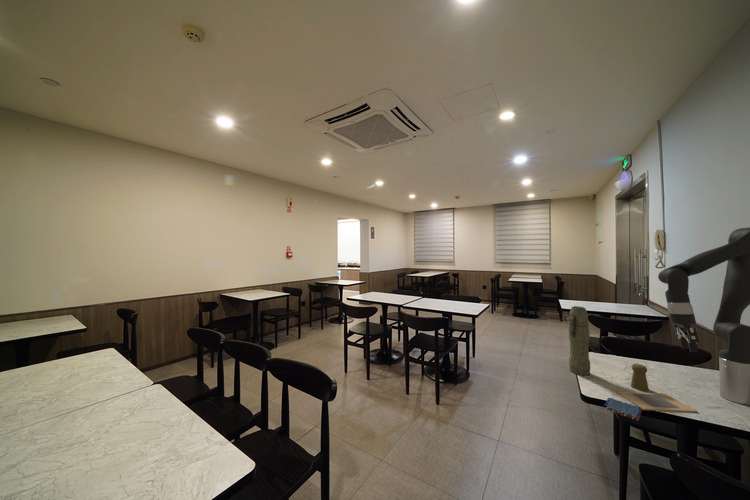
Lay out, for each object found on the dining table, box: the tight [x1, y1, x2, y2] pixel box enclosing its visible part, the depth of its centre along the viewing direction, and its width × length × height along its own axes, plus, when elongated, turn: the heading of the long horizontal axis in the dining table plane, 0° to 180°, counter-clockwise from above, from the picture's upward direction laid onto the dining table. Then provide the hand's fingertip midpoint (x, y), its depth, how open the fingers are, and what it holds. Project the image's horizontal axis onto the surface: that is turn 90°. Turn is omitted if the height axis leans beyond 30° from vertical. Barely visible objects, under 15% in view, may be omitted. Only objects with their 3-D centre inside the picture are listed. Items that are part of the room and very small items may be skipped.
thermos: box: [568, 305, 591, 377], centre depth 140 cm, size 9×12×35 cm
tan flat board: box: [616, 391, 699, 413], centre depth 112 cm, size 20×13×1 cm, turn 84°
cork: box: [630, 363, 650, 392], centre depth 124 cm, size 6×6×11 cm
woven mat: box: [603, 397, 643, 421], centre depth 107 cm, size 10×11×2 cm
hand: (689, 350), depth 115 cm, fingers open, 8 cm apart
